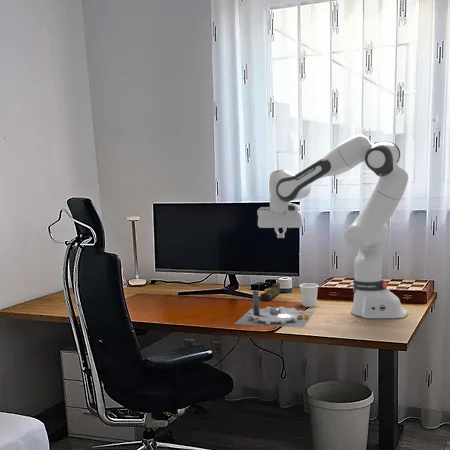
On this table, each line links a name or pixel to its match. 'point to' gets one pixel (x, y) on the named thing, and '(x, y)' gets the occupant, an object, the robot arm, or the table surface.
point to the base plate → (299, 323)
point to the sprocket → (273, 313)
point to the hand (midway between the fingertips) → (280, 237)
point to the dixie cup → (309, 294)
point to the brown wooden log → (270, 293)
